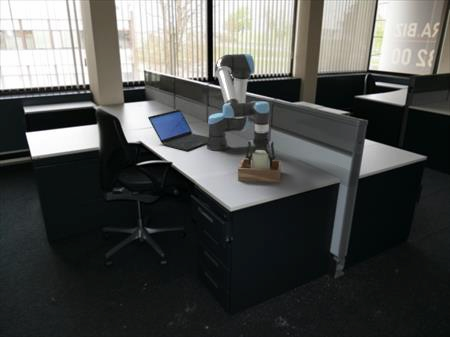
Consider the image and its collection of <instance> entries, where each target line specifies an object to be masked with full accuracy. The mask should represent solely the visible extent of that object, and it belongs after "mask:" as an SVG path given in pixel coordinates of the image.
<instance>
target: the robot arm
mask: <svg viewBox="0 0 450 337" xmlns="http://www.w3.org/2000/svg"><path fill="white" fill-rule="evenodd" d="M214 66H215V67H214V74H215V77H216V78H217V79H218V82H219V83H218V84H219V86H220V91H221V93H222V98H223V101H224V104H223V105H222V112H217V113H212V114H211V115H209V116H208V137H209V138H208V142H207V144H206V149H207V150H210V151H225V150H228V148H229V143H228V139H227V137H226V136H227V135H226V134H227V133H236V132H238V133H240V132H245V131H247V128H248V126H249V118H250V117H252V118H253V117H254V125H253V126H254V127H253V128H254V129H253V130H254V133H253V134H254V135H253V140H250V139H249V140H248V141H247V143H248V147H247V149H246V150H247V151H246V154H245V159H249V165H251V169H252V156H253V154H252V153H255V151H256V150H258V149H261V150H262V149H263V150H265V151H266V153H267V154H269V155H268V157H269V160H268V170H270V166H272V160H276V153H275V147H274V143H275V141H273V140H272V141H271V140H270V141H269V127H270V126H269V125H270V111H271V110H270V103H269V102H268V101H262V100H261V101H256V100H252V101H251V102H246V99H247V98H246V97H247V89H248V88H247V87H248V80H249V79H250V78H251V75H253V74H254V73H255V61H254V58H253V56H252V54H249V53H238V54H235V53H234V54H233V53H232V54H224V55H222V56H221V57H220V58H219V59H218V60H217V61H216V63H215V65H214ZM232 78H233V79H232ZM268 144H269V146H270V149H271V152H270V151H269V148H268ZM252 145H255V146H254V148H253V149H252V151H251V147H252ZM250 151H251V153H250ZM249 154H250V155H249ZM271 154H272V155H271Z"/></svg>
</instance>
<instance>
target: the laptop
mask: <svg viewBox="0 0 450 337" xmlns="http://www.w3.org/2000/svg"><path fill="white" fill-rule="evenodd" d="M147 118H148V121H149V122H150V125H151V126H152V127H153V130H154V132H155V134H156V135H157V137H158V140H159V141H160V143H161V144H162V145H163V146H165V147H170V148H174V149H176V150H177V149H178V150H182V151H186V152H189V151H190V150H191V151H192V150H193V149H197V148H199V147H201V146H204V145H205V146H206V145H207V142H208V138H209V136H205V135H201V134H196V133H193V131H192V130H191V128H190V126H189V124H188V122H187V120H186V118H185V116H184V114H183V112H182V111H181V109H176V110H173V111H168V112H162V113H159V114H154V115H151V116H148V117H147Z"/></svg>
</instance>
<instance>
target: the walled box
mask: <svg viewBox="0 0 450 337" xmlns="http://www.w3.org/2000/svg"><path fill="white" fill-rule="evenodd" d="M281 172H282V160H280V159H279V160H278V159H277V160H276V159H275V160H272V166H270V170H267V169H251V165H249V159H248V158H246V157H244V158H241V160H240V163H239V165H238V168H237V181H238V182H239V181H240V182H255V183H271V184H280V183H281Z"/></svg>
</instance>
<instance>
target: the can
mask: <svg viewBox="0 0 450 337" xmlns="http://www.w3.org/2000/svg"><path fill="white" fill-rule="evenodd" d="M251 153H252V152H251ZM252 154H253V156H252V169H267V170H268V160H269V157H268V155H269V154H267V153H266V151H265V149H263V150H262V149H256V151H255V153H252Z"/></svg>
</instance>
